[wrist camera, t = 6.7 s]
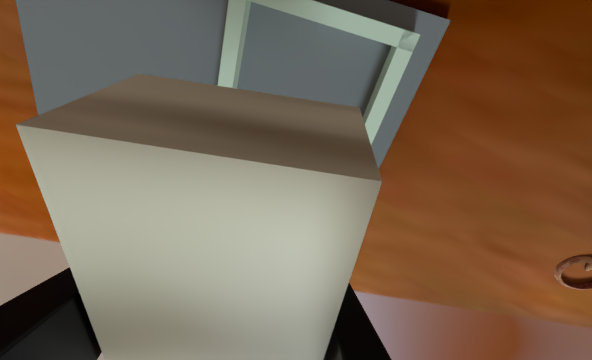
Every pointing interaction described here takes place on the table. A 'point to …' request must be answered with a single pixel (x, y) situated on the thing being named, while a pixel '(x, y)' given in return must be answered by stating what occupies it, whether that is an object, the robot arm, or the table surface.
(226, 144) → the card box
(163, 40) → the mat
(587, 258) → the key
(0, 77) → the table surface
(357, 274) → the table surface
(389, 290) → the table surface
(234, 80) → the tray frame
